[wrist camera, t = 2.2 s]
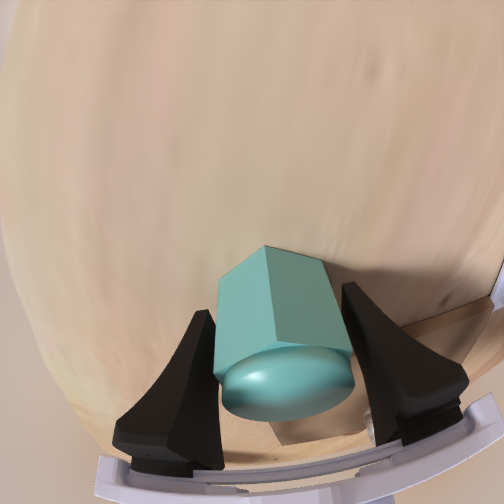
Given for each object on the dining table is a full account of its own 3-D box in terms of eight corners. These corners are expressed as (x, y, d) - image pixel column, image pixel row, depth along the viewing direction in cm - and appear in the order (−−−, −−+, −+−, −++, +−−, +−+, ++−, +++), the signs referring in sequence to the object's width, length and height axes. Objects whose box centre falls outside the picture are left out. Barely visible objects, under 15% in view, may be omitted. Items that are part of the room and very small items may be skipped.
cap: (319, 235, 12) (362, 344, 7) (324, 318, 16) (349, 411, 11) (210, 256, 13) (197, 372, 8) (240, 333, 16) (242, 428, 11)
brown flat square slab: (488, 295, 16) (495, 305, 15) (427, 398, 28) (430, 406, 27) (244, 361, 18) (244, 376, 17) (281, 437, 29) (281, 445, 28)
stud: (387, 394, 21) (400, 437, 17) (382, 403, 22) (393, 443, 18) (363, 401, 21) (374, 445, 17) (360, 410, 22) (369, 451, 19)
